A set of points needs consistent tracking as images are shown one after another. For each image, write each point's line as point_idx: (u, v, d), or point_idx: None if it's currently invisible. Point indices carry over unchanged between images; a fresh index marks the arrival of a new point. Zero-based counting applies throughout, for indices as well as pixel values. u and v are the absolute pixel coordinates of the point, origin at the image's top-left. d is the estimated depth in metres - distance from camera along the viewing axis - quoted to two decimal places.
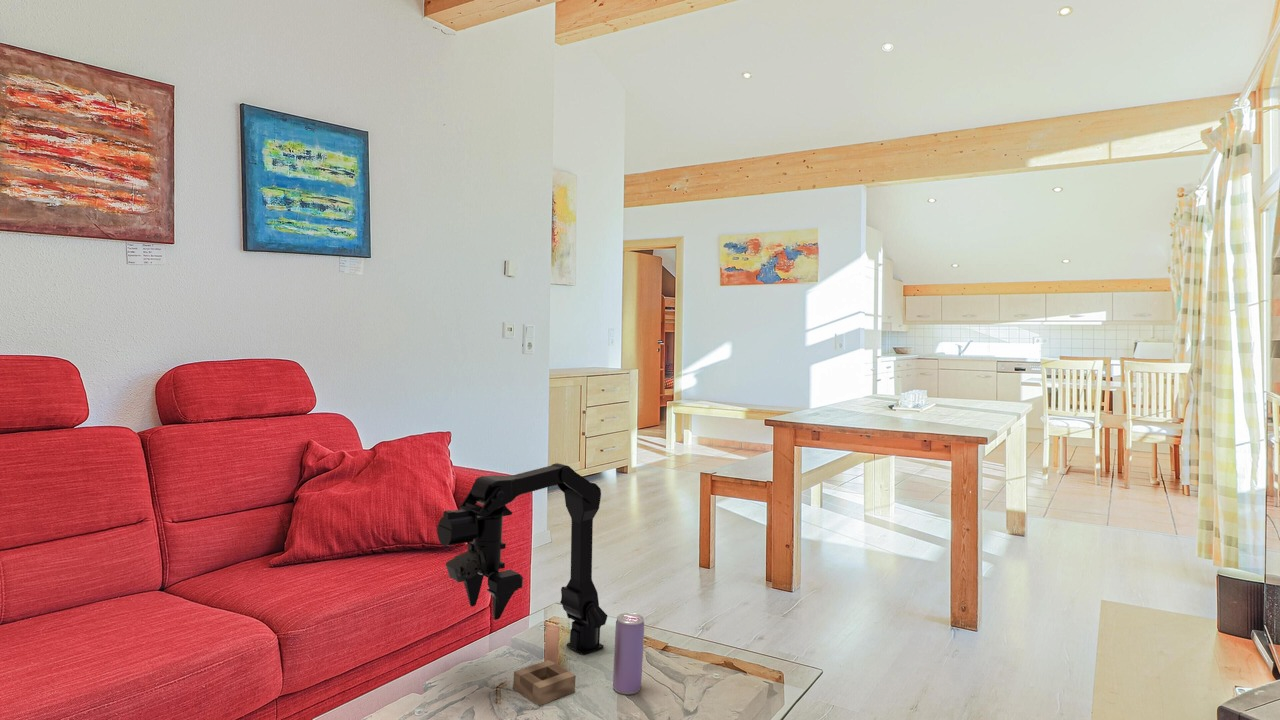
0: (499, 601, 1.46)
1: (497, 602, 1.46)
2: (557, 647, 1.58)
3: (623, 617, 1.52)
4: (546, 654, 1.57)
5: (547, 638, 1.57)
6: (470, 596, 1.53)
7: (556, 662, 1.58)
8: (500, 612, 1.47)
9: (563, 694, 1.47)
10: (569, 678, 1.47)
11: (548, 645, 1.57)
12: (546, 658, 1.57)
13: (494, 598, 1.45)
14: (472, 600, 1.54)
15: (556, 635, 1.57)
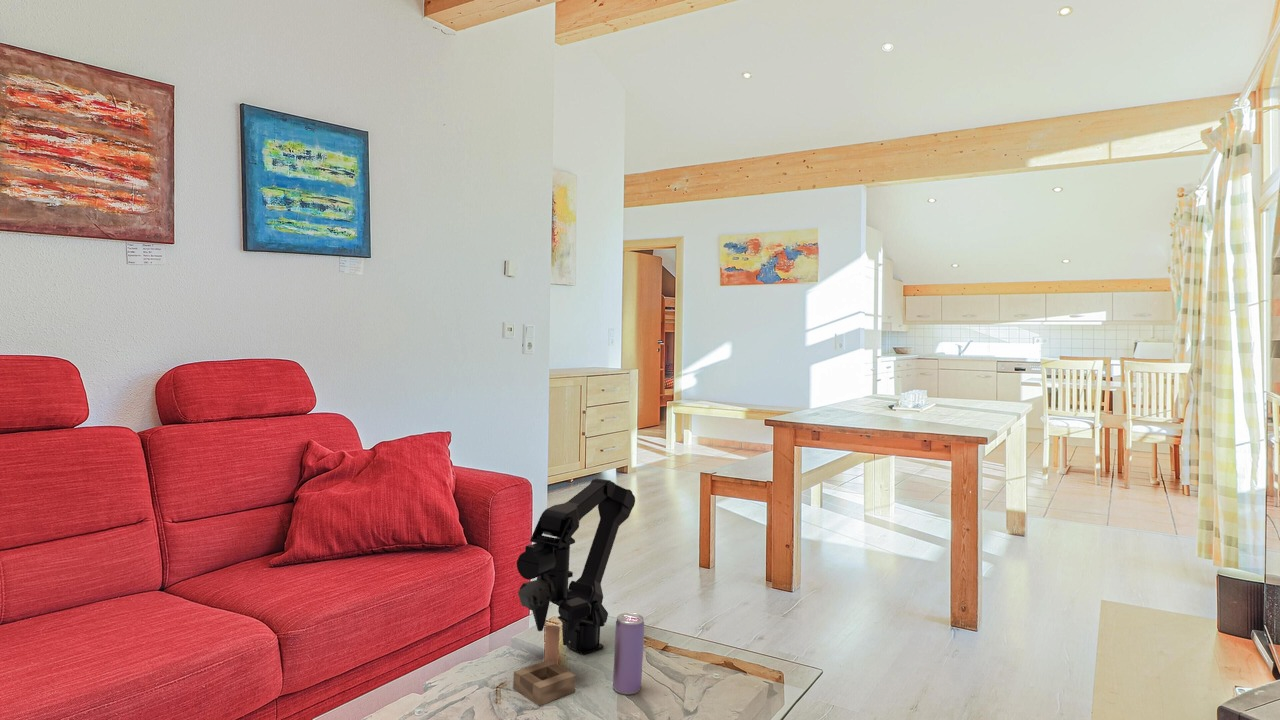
0: (568, 628, 1.54)
1: (567, 629, 1.54)
2: (557, 647, 1.58)
3: (623, 617, 1.52)
4: (546, 654, 1.57)
5: (547, 638, 1.57)
6: (538, 621, 1.61)
7: (556, 662, 1.58)
8: (569, 638, 1.55)
9: (563, 694, 1.47)
10: (569, 678, 1.47)
11: (548, 645, 1.57)
12: (546, 658, 1.57)
13: (564, 625, 1.53)
14: (540, 625, 1.62)
15: (556, 635, 1.57)
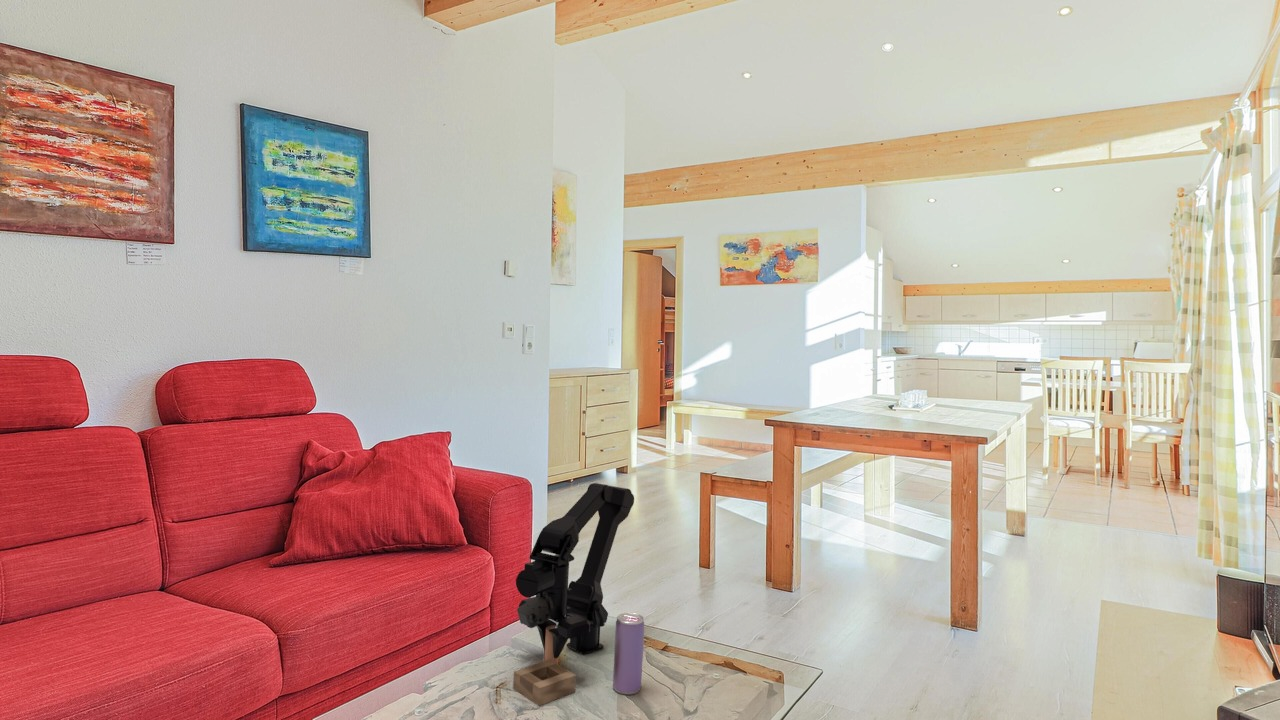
0: (559, 641, 1.56)
1: (557, 642, 1.56)
2: None
3: (623, 617, 1.52)
4: (546, 654, 1.57)
5: (547, 638, 1.57)
6: None
7: (556, 662, 1.58)
8: (559, 651, 1.57)
9: (563, 694, 1.47)
10: (569, 678, 1.47)
11: (548, 645, 1.57)
12: (546, 658, 1.57)
13: (555, 638, 1.55)
14: None
15: None
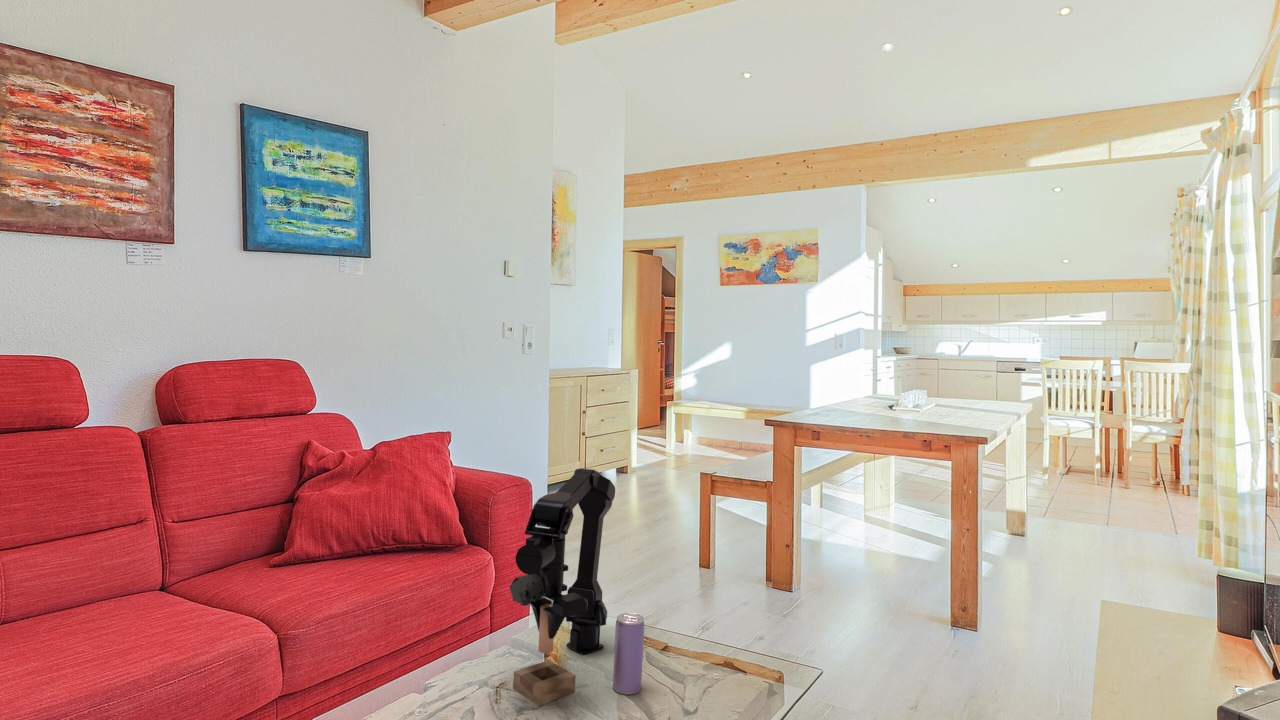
0: (554, 620, 1.46)
1: (553, 621, 1.46)
2: None
3: (623, 617, 1.52)
4: (541, 634, 1.47)
5: (542, 617, 1.47)
6: (539, 623, 1.49)
7: (551, 643, 1.48)
8: (555, 631, 1.47)
9: (563, 694, 1.47)
10: (569, 678, 1.47)
11: (542, 624, 1.47)
12: (541, 639, 1.47)
13: (550, 617, 1.45)
14: None
15: None
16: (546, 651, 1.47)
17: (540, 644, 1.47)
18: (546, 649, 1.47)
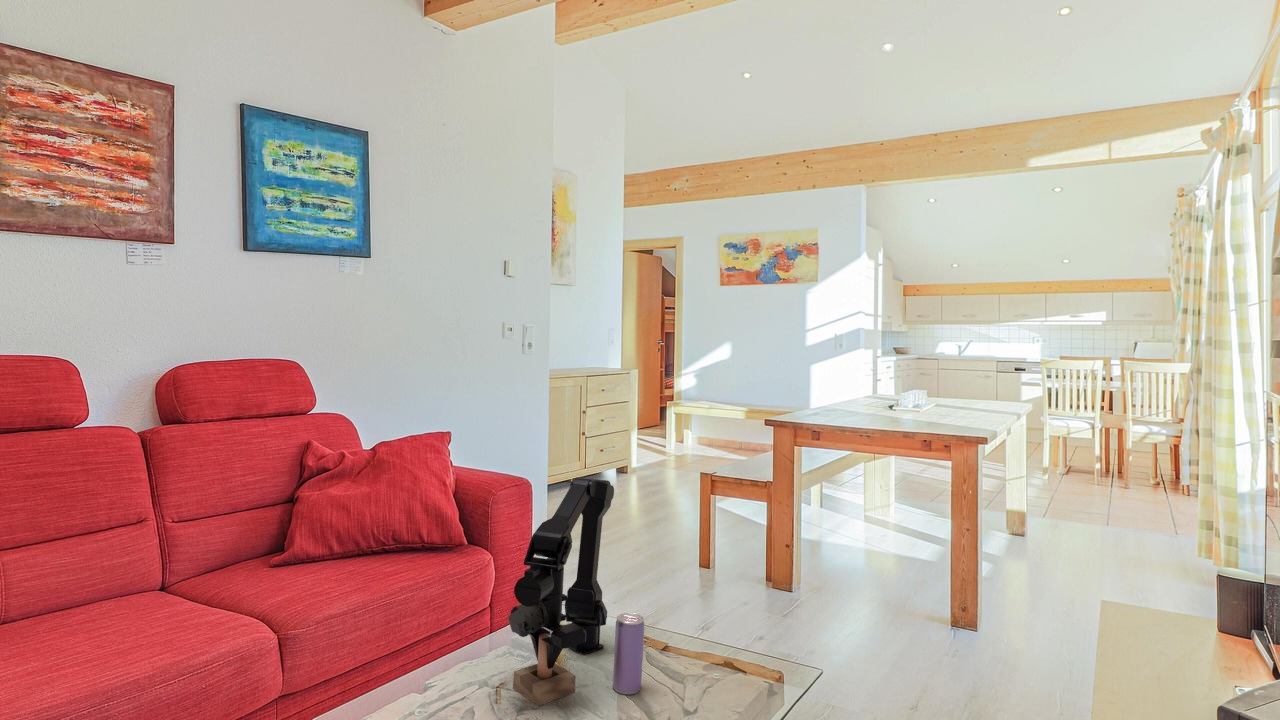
0: (553, 650, 1.46)
1: (551, 651, 1.46)
2: None
3: (623, 617, 1.52)
4: (539, 664, 1.48)
5: (540, 647, 1.47)
6: None
7: (550, 673, 1.48)
8: (554, 661, 1.47)
9: (563, 694, 1.47)
10: (569, 678, 1.47)
11: (541, 654, 1.47)
12: (539, 669, 1.47)
13: (548, 648, 1.46)
14: None
15: None
16: None
17: (539, 674, 1.48)
18: None
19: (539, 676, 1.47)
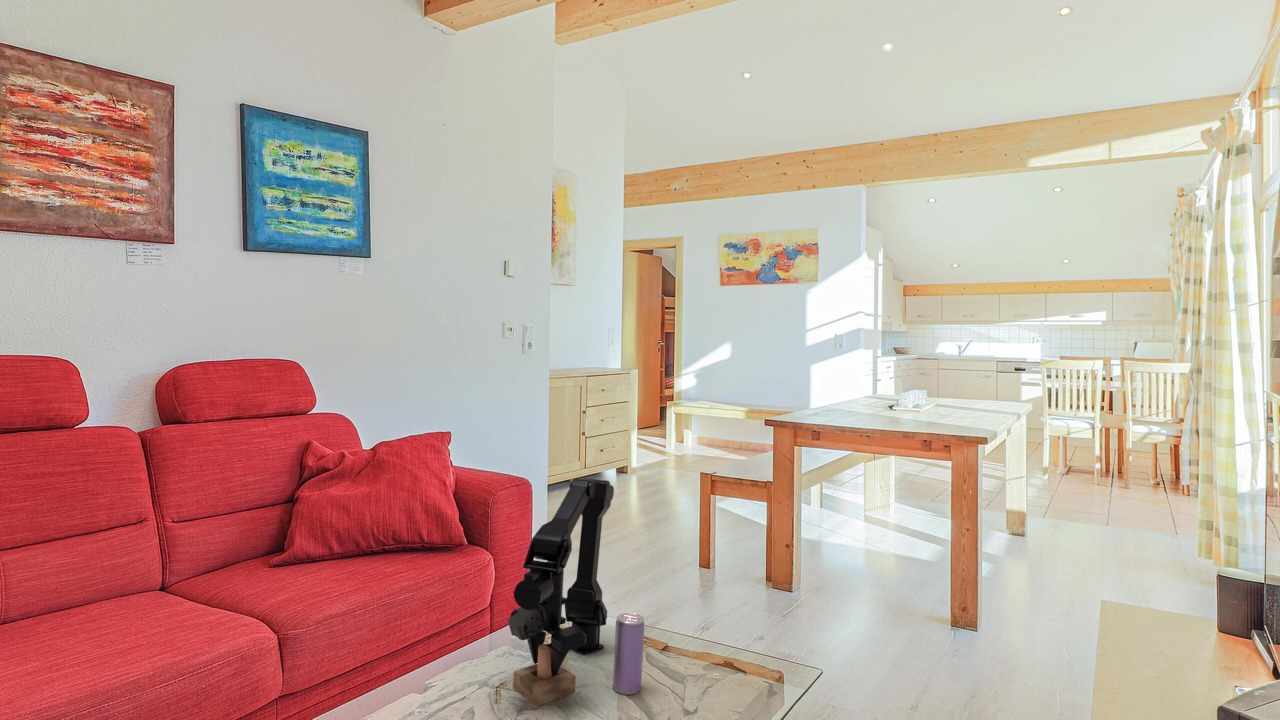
0: (557, 656, 1.45)
1: (555, 657, 1.45)
2: (550, 667, 1.48)
3: (623, 617, 1.52)
4: (538, 675, 1.48)
5: (539, 658, 1.47)
6: (534, 653, 1.50)
7: None
8: (558, 667, 1.46)
9: (563, 694, 1.47)
10: (569, 678, 1.47)
11: (540, 665, 1.47)
12: None
13: (552, 653, 1.45)
14: (535, 657, 1.51)
15: (549, 655, 1.47)
16: None
17: None
18: None
19: None
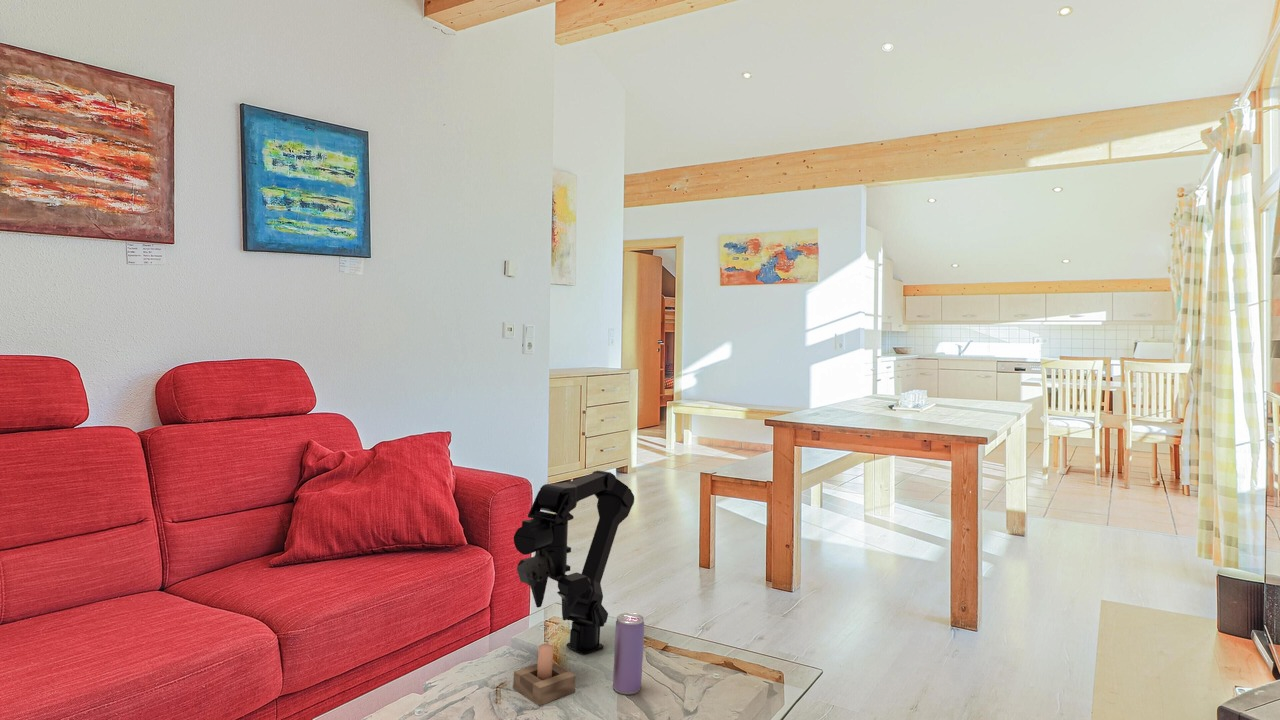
0: (568, 602, 1.54)
1: (566, 603, 1.53)
2: (550, 667, 1.48)
3: (623, 617, 1.52)
4: (539, 675, 1.48)
5: (540, 658, 1.47)
6: (536, 598, 1.61)
7: None
8: (568, 613, 1.55)
9: (563, 694, 1.47)
10: (569, 678, 1.47)
11: (540, 665, 1.47)
12: None
13: (563, 600, 1.53)
14: (538, 601, 1.61)
15: (549, 655, 1.47)
16: None
17: None
18: None
19: None
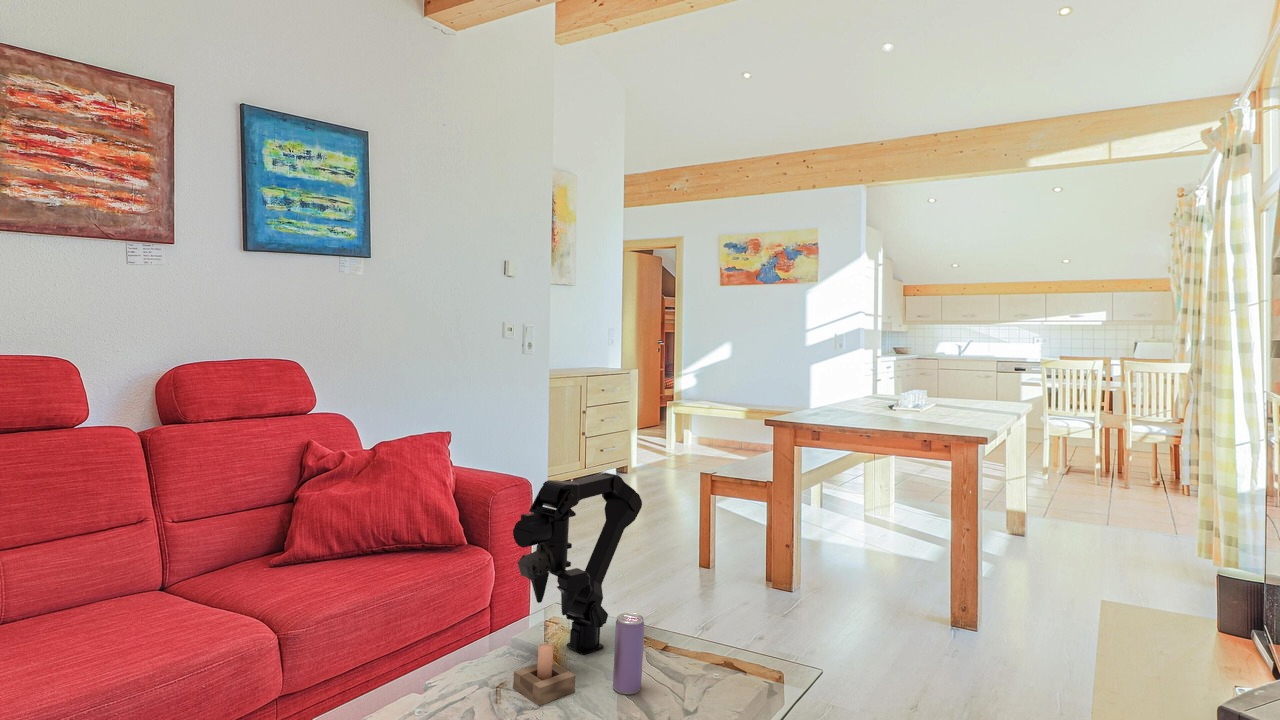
0: (567, 597, 1.56)
1: (566, 598, 1.55)
2: (550, 667, 1.48)
3: (623, 617, 1.52)
4: (539, 675, 1.48)
5: (540, 658, 1.47)
6: (537, 593, 1.63)
7: None
8: (568, 608, 1.57)
9: (563, 694, 1.47)
10: (569, 678, 1.47)
11: (540, 665, 1.47)
12: None
13: (563, 595, 1.55)
14: (539, 597, 1.63)
15: (549, 655, 1.47)
16: None
17: None
18: None
19: None
